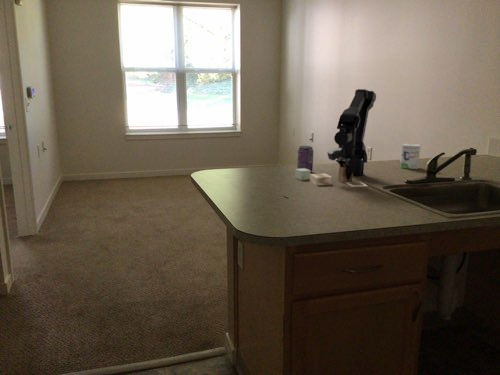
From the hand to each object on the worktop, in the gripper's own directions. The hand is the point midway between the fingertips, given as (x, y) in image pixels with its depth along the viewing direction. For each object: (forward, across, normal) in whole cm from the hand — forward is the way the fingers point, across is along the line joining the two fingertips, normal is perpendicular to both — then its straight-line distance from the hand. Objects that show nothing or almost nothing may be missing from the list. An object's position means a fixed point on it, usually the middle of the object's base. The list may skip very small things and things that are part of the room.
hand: (345, 178), depth 193 cm
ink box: (+2, -24, +44) cm, 50 cm away
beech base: (+2, +2, -12) cm, 12 cm away
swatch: (+1, +7, +2) cm, 7 cm away
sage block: (+1, -8, -17) cm, 19 cm away
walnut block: (+1, 0, 0) cm, 1 cm away
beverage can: (+1, -20, -12) cm, 23 cm away
